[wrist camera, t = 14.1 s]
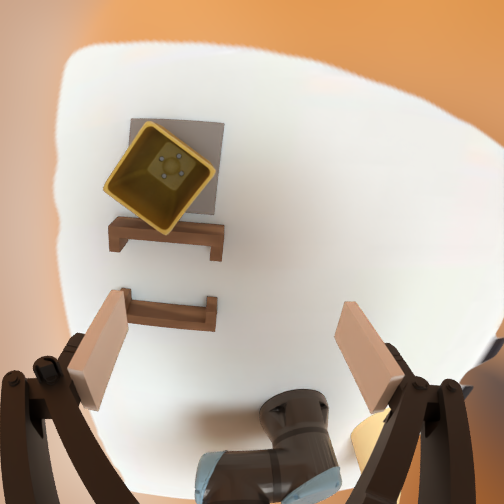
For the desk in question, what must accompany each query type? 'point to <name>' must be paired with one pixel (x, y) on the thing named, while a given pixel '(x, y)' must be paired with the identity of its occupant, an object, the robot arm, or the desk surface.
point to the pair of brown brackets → (180, 233)
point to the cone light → (368, 438)
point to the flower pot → (158, 177)
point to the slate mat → (203, 142)
